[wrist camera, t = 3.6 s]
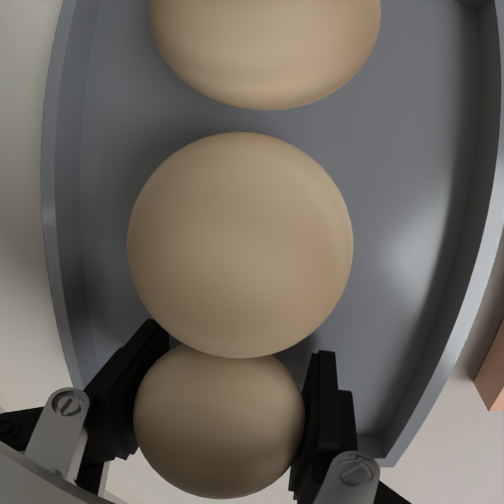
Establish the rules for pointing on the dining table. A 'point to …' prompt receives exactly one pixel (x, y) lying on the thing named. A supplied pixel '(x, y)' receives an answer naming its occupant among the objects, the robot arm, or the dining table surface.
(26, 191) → the dining table surface
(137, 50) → the dish
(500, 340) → the dish
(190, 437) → the ball
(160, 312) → the ball
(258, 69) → the ball
